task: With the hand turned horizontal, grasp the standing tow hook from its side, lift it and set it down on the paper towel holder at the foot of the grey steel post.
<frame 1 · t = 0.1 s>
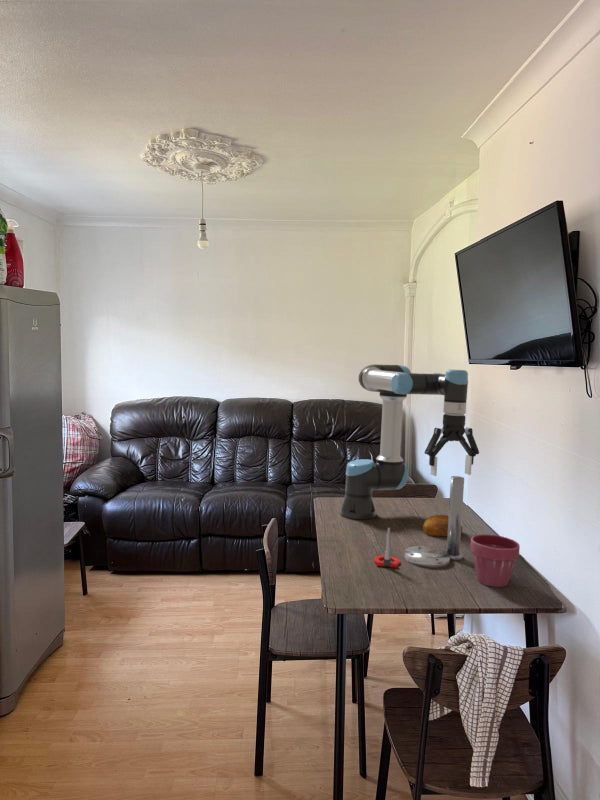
hand: (450, 474, 197), 28 cm above the table, tool pointing down, fingers open, 13 cm apart
croissant: (441, 532, 223), on the table
plant pot: (492, 581, 175), on the table
tow hook: (386, 563, 188), on the table
paper towel holder: (426, 559, 192), on the table
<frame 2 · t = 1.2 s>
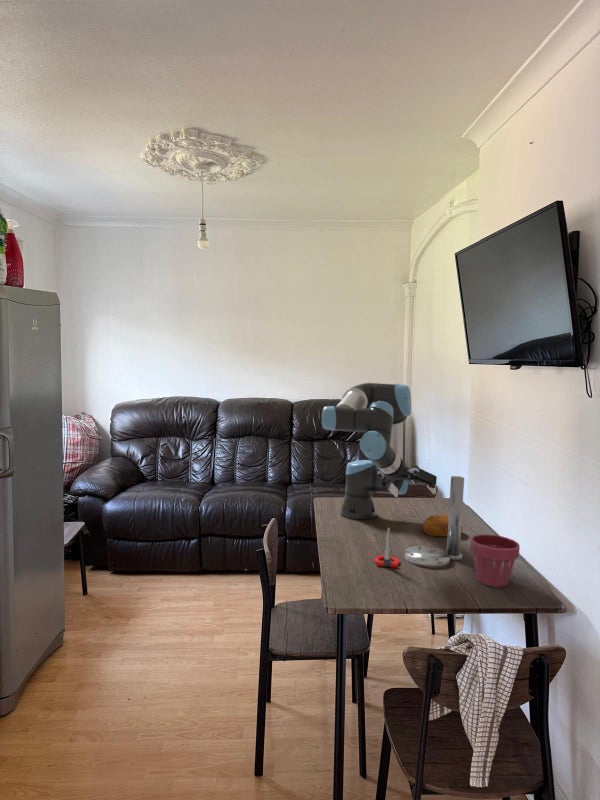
hand: (415, 492, 191), 23 cm above the table, tool tilted 55°, fingers open, 13 cm apart
nothing on the table moved.
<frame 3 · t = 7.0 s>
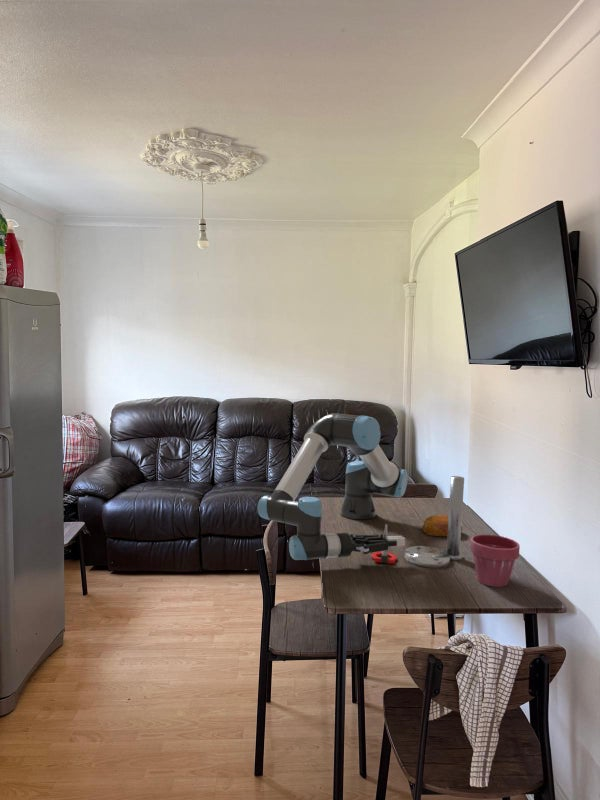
hand: (402, 540, 189), 7 cm above the table, tool horizontal, fingers closed on tow hook
tow hook: (384, 559, 191), on the table, touching gripper
everything else where it was.
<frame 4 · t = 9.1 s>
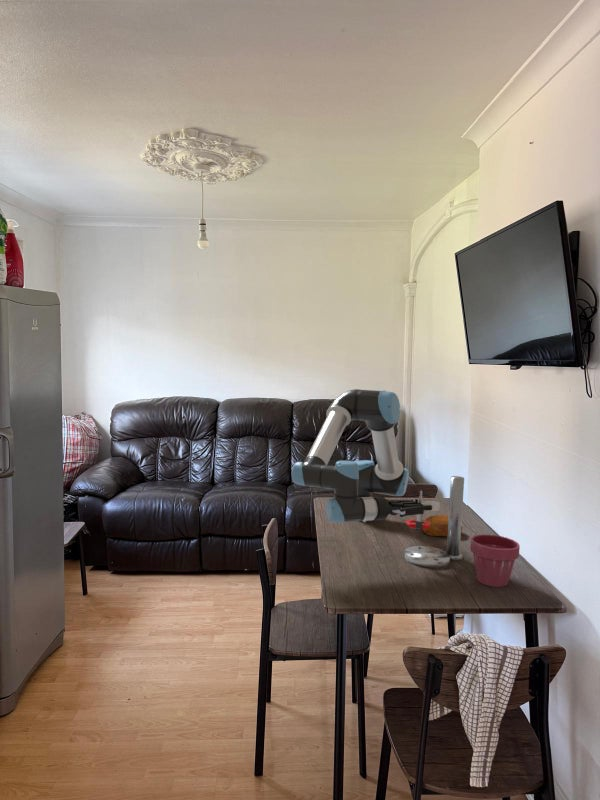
hand: (437, 505, 191), 19 cm above the table, tool horizontal, fingers closed on tow hook
tow hook: (418, 526, 193), point 11 cm above the table, touching gripper
everything else where it was.
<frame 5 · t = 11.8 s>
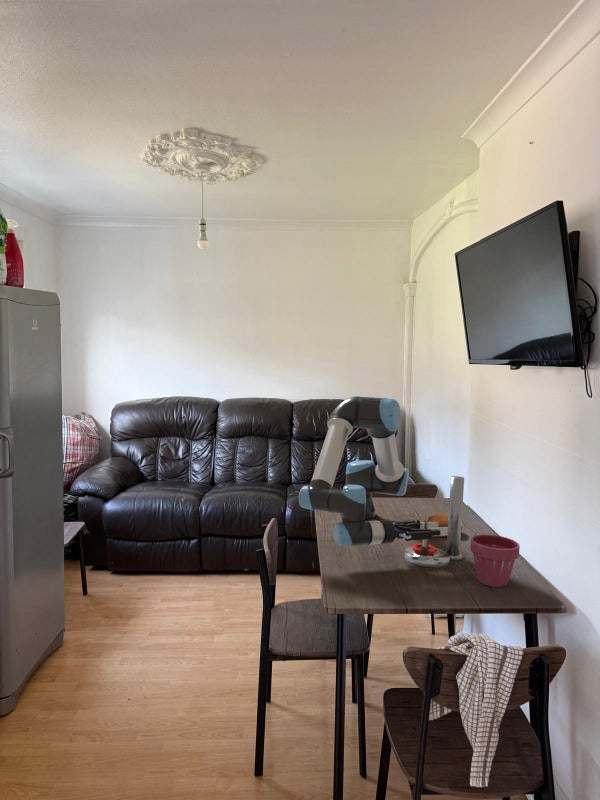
hand: (442, 528, 193), 10 cm above the table, tool horizontal, fingers open, 5 cm apart
tow hook: (423, 550, 195), point 2 cm above the table, touching paper towel holder
everything else where it was.
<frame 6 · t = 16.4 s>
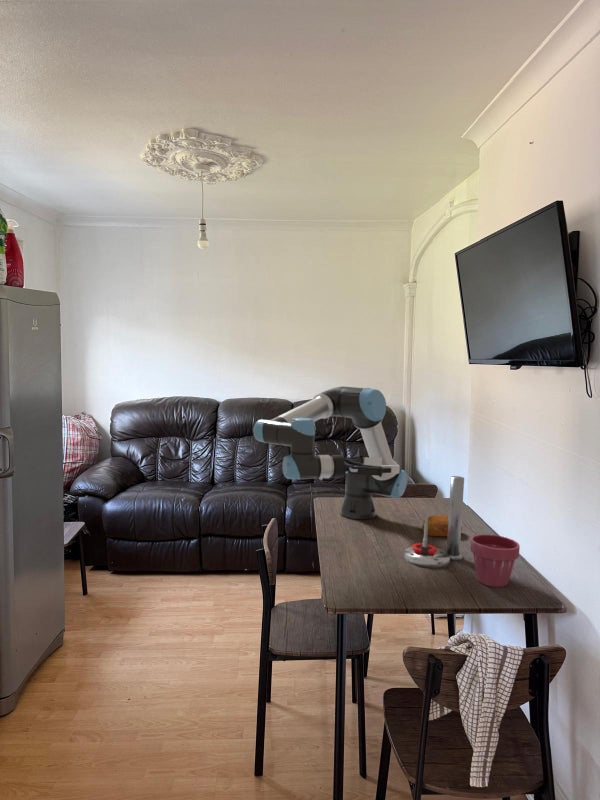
hand: (389, 465, 189), 32 cm above the table, tool horizontal, fingers open, 13 cm apart
nothing on the table moved.
at the end: tow hook inside the target area on the paper towel holder (3.0 cm from its centre), point 1.9 cm above the paper towel holder's base; the gripper is holding nothing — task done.
